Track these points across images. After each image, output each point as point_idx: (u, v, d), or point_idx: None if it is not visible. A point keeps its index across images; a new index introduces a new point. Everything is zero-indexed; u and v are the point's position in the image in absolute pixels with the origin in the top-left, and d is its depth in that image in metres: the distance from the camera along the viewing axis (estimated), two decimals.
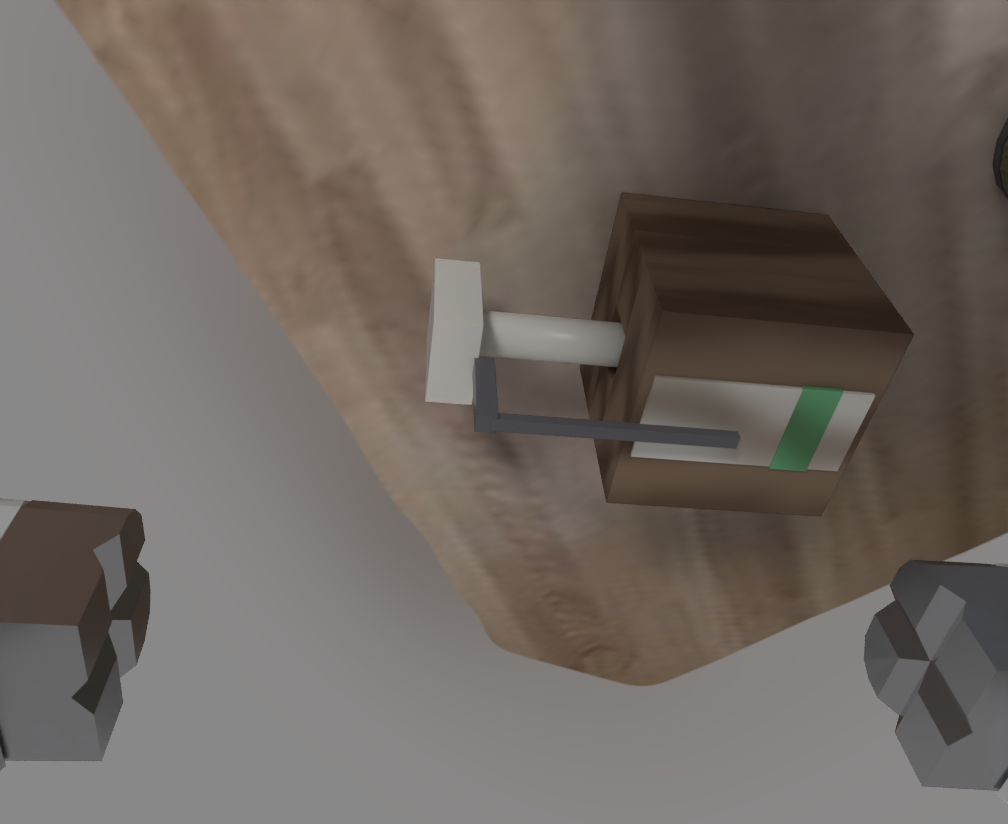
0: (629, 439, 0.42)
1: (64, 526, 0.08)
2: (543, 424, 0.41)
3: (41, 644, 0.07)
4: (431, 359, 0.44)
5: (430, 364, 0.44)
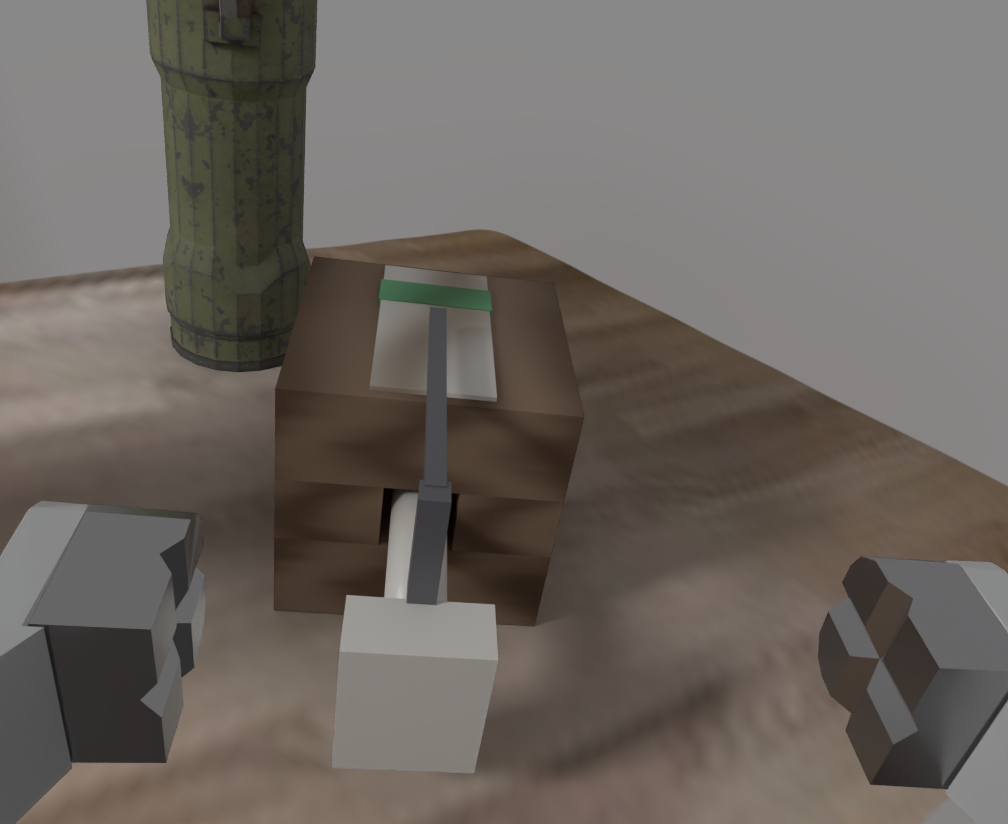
0: (443, 374, 0.33)
1: (130, 530, 0.08)
2: (428, 439, 0.30)
3: (114, 648, 0.07)
4: (414, 653, 0.28)
5: (424, 654, 0.28)
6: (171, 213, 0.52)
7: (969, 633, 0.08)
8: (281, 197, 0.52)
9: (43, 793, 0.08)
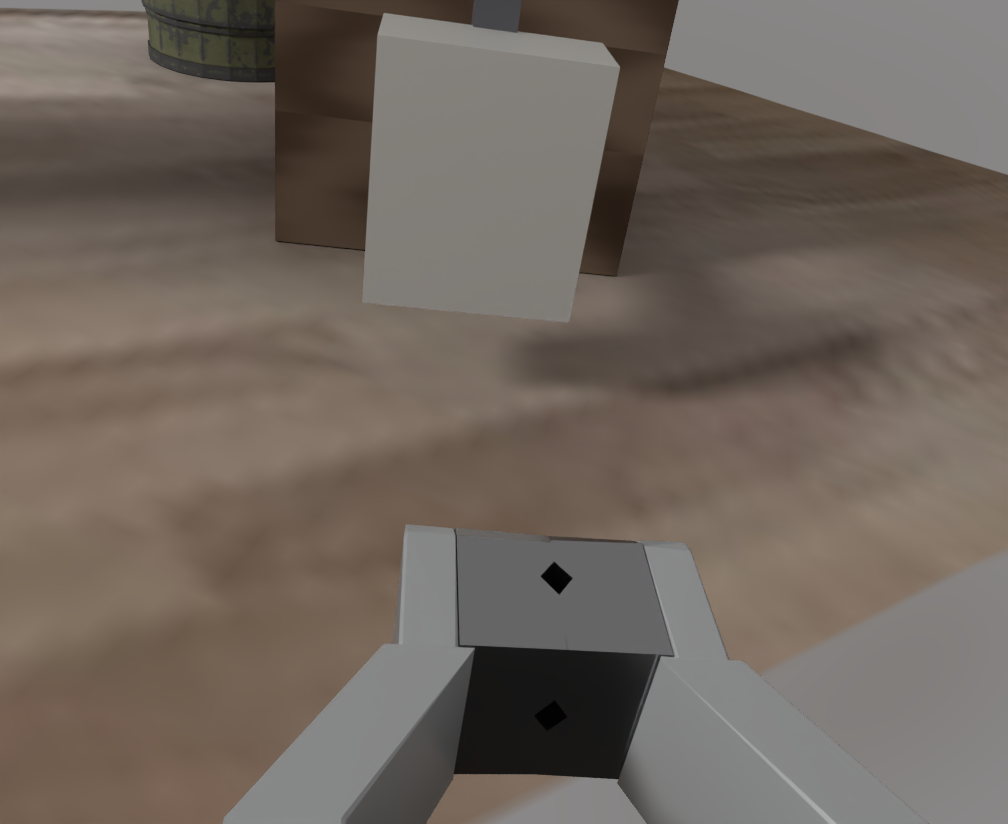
0: None
1: (503, 553, 0.09)
2: None
3: (528, 667, 0.08)
4: (492, 49, 0.18)
5: (507, 51, 0.18)
6: None
7: (617, 615, 0.08)
8: None
9: (435, 803, 0.08)
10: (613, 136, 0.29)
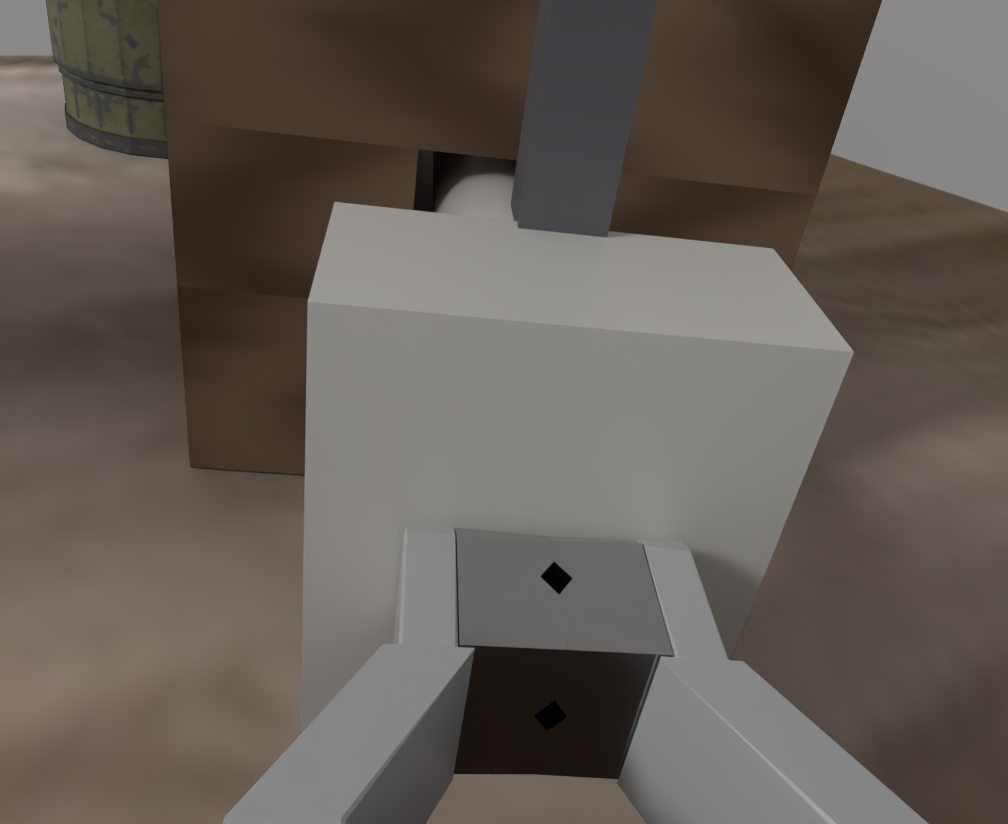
0: None
1: (503, 553, 0.09)
2: None
3: (528, 666, 0.08)
4: (571, 321, 0.08)
5: (605, 325, 0.08)
6: None
7: (618, 614, 0.08)
8: None
9: (435, 803, 0.08)
10: None
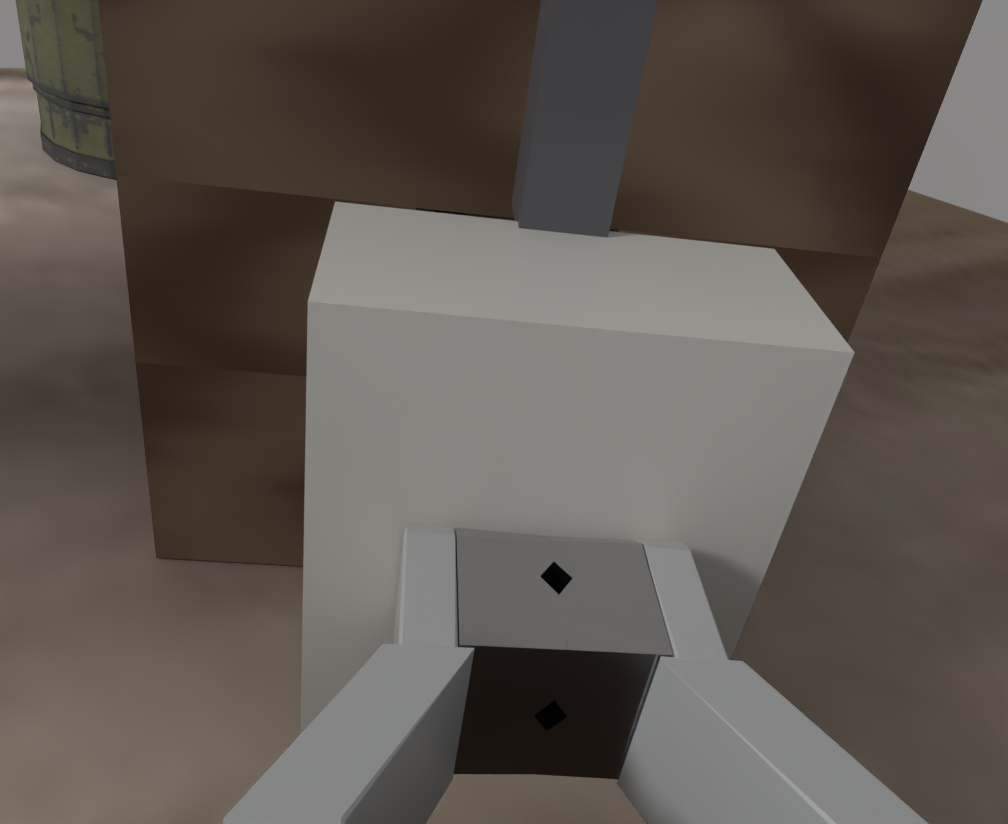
0: None
1: (503, 553, 0.09)
2: None
3: (528, 667, 0.08)
4: (571, 322, 0.08)
5: (605, 325, 0.08)
6: None
7: (619, 614, 0.08)
8: None
9: (435, 803, 0.08)
10: None
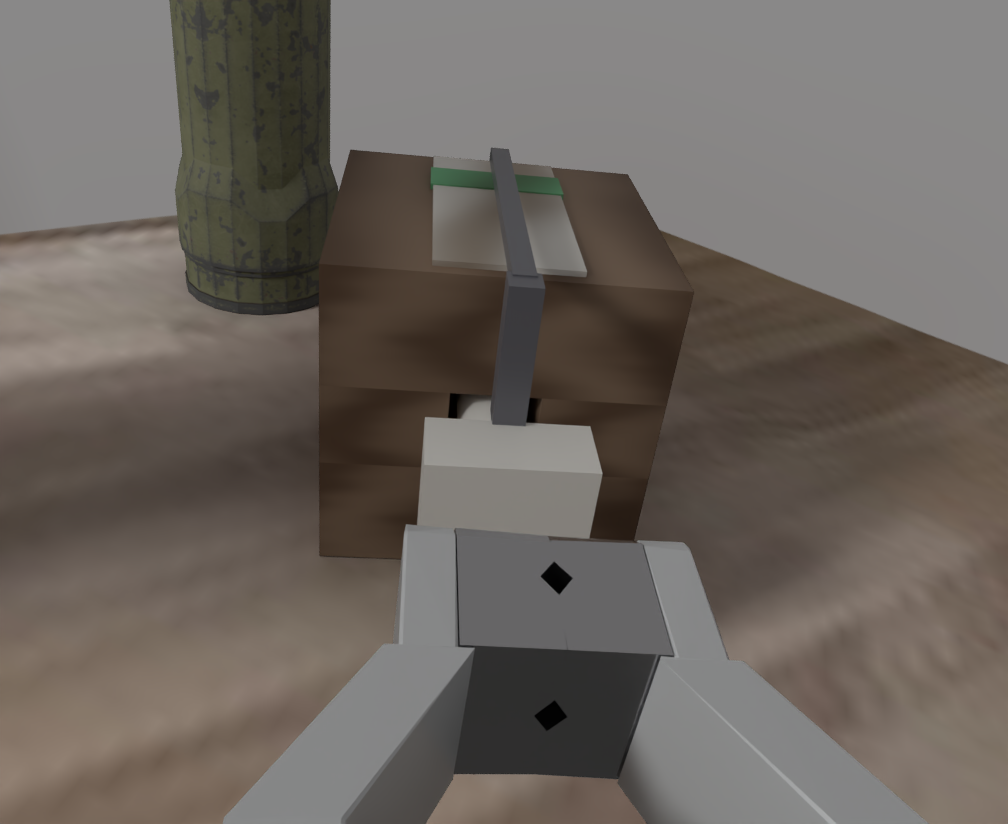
0: (516, 194, 0.30)
1: (503, 553, 0.09)
2: (510, 240, 0.27)
3: (528, 667, 0.08)
4: (508, 467, 0.25)
5: (518, 468, 0.25)
6: (183, 133, 0.47)
7: (619, 614, 0.08)
8: (307, 108, 0.46)
9: (435, 803, 0.08)
10: (621, 466, 0.33)
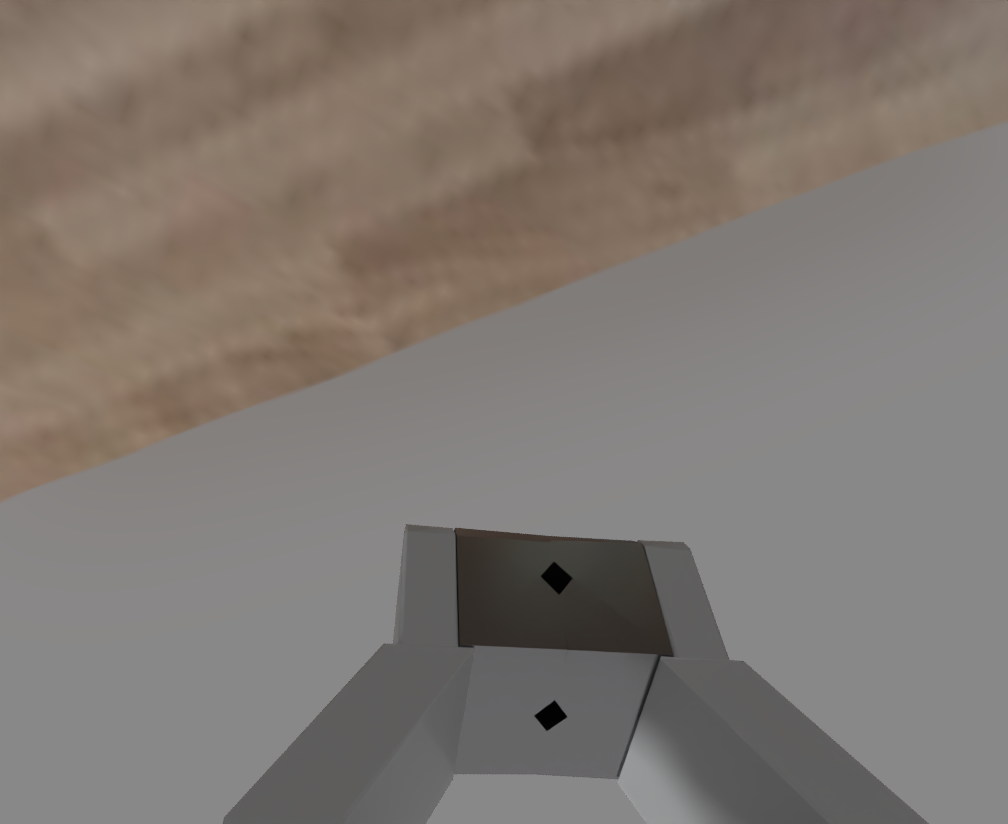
0: None
1: (504, 554, 0.09)
2: None
3: (528, 667, 0.08)
4: None
5: None
6: None
7: (617, 614, 0.08)
8: None
9: (435, 803, 0.08)
10: None
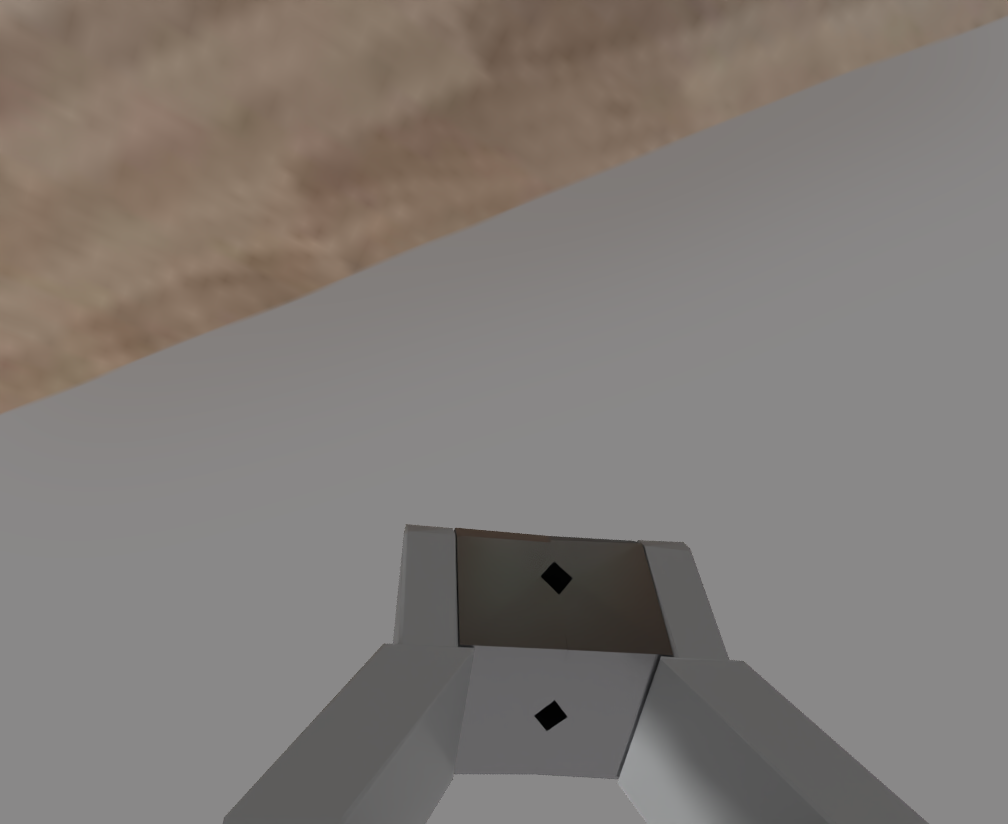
0: None
1: (504, 553, 0.09)
2: None
3: (528, 667, 0.08)
4: None
5: None
6: None
7: (617, 614, 0.08)
8: None
9: (436, 803, 0.08)
10: None
